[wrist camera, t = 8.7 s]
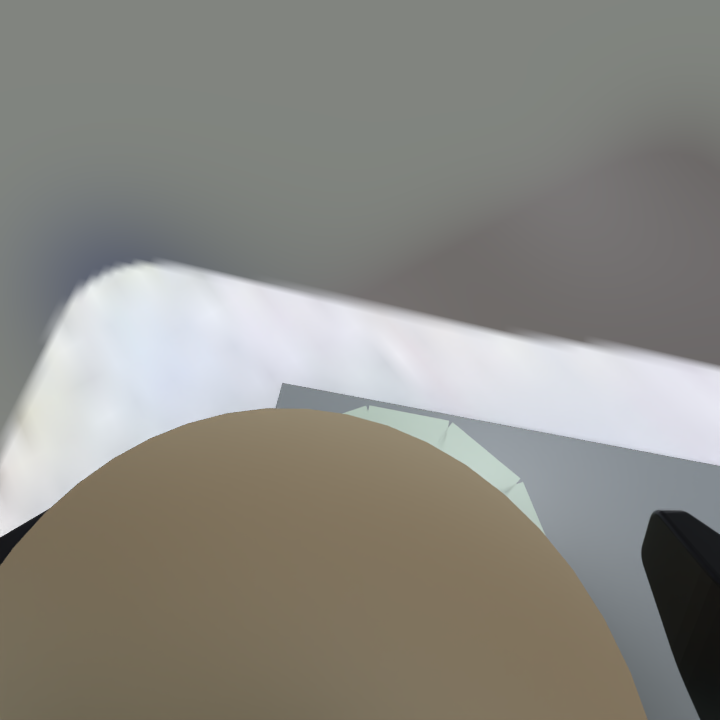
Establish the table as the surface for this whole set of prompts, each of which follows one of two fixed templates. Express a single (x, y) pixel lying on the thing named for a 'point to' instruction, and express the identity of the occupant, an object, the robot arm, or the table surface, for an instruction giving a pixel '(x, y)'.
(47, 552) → the birch peg
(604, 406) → the table surface
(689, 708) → the thin grey base plate
